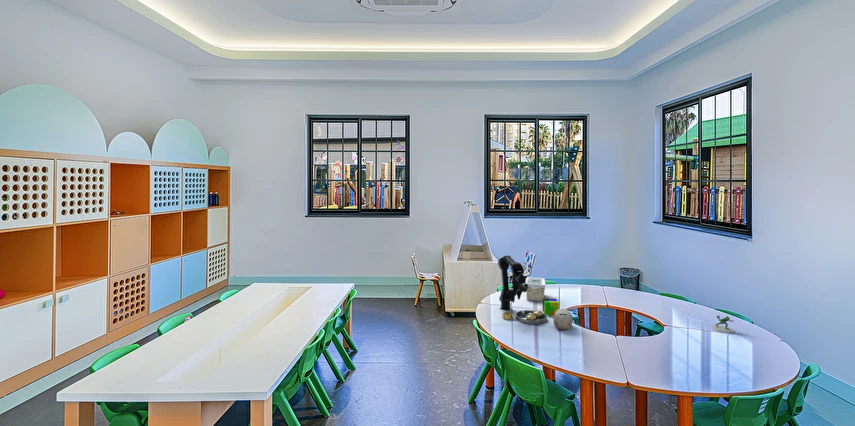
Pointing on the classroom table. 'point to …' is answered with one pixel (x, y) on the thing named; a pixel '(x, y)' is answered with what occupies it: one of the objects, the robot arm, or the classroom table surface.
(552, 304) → the puzzle toy
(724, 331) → the monster figurine
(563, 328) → the coin bank
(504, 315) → the planet gear
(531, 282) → the storage basket
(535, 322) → the tray
